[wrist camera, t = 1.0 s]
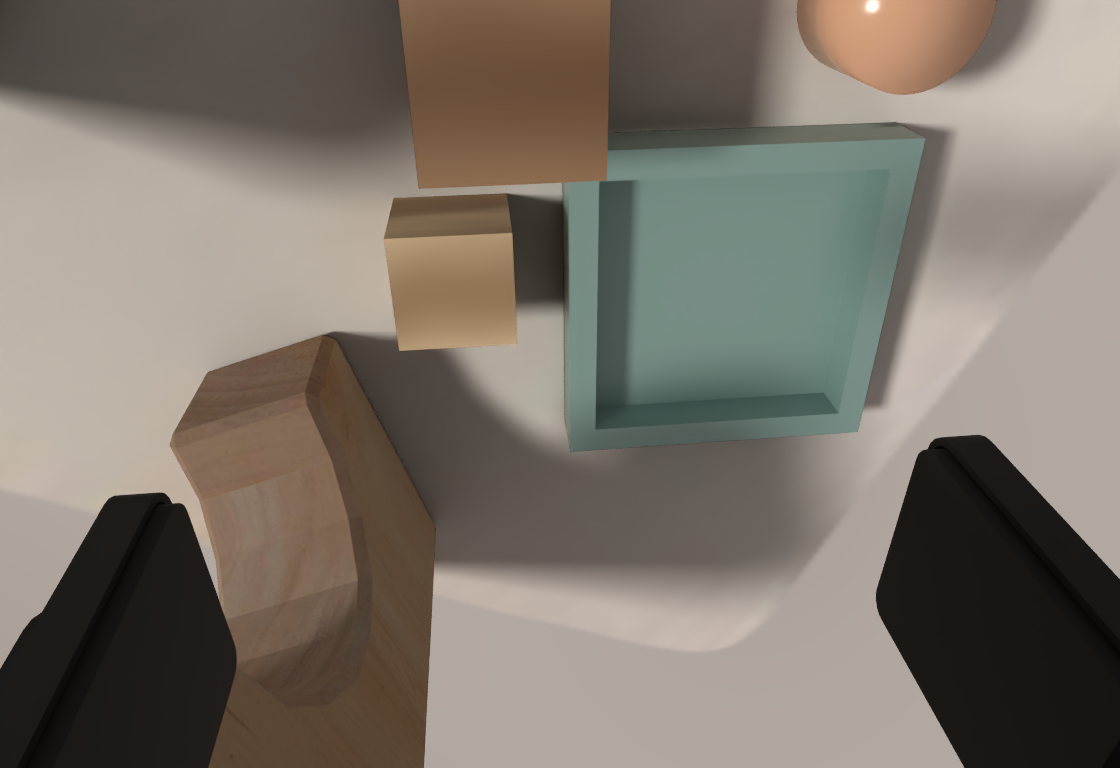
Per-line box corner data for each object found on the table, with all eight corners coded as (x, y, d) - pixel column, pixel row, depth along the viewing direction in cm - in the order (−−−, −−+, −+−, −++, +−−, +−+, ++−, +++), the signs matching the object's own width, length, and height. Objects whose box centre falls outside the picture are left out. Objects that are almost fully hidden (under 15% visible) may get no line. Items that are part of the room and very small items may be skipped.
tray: (562, 134, 27) (569, 152, 25) (895, 122, 28) (925, 138, 26) (564, 421, 33) (570, 451, 32) (836, 403, 34) (857, 431, 32)
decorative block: (200, 368, 30) (-136, 956, 13) (338, 326, 30) (171, 876, 13) (323, 562, 36) (196, 1144, 19) (439, 530, 36) (414, 1091, 19)
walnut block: (413, -44, 24) (395, -26, 18) (576, -47, 24) (611, -31, 18) (429, 123, 26) (418, 188, 21) (575, 118, 27) (606, 180, 21)
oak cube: (393, 197, 28) (384, 238, 24) (506, 192, 28) (512, 232, 25) (406, 299, 30) (398, 350, 26) (511, 294, 30) (517, 344, 27)
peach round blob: (807, -77, 24) (862, -73, 21) (942, -79, 25) (1017, -76, 21) (787, 72, 27) (833, 97, 23) (911, 68, 27) (973, 92, 24)
